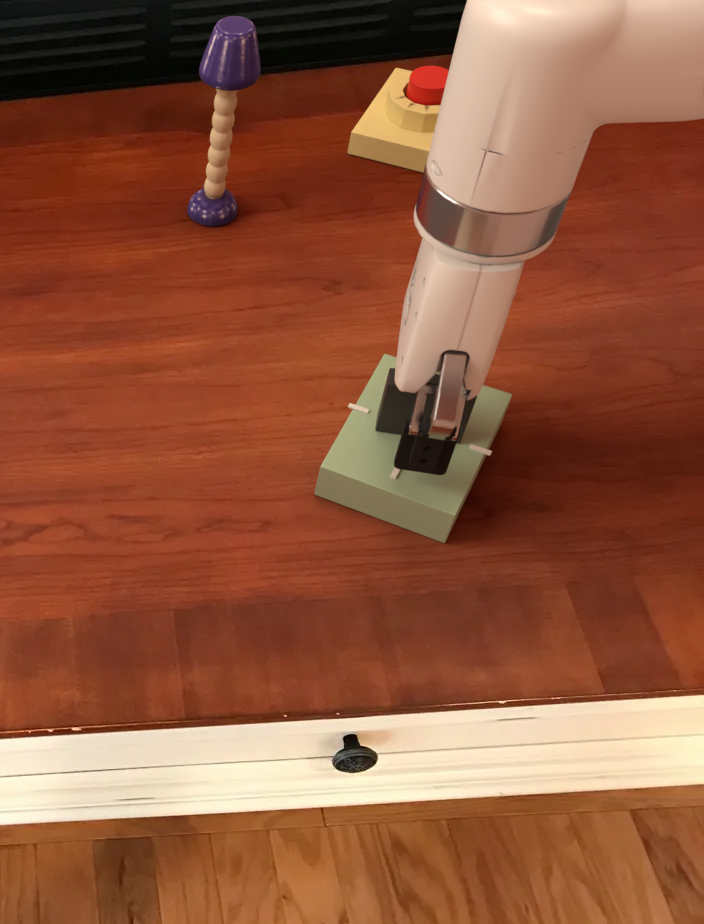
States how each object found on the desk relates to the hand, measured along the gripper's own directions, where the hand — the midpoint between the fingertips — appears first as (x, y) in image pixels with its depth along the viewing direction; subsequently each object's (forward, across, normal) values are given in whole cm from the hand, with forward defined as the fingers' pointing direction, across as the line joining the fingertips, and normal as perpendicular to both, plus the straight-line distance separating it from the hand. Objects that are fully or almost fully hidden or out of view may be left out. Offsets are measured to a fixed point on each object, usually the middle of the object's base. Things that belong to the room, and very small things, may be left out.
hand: (424, 414), depth 76 cm
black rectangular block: (+1, 0, 0) cm, 1 cm away
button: (+1, -39, -2) cm, 39 cm away
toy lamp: (+5, -25, -18) cm, 31 cm away
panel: (+4, 0, 0) cm, 5 cm away
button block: (+5, -39, -2) cm, 39 cm away
